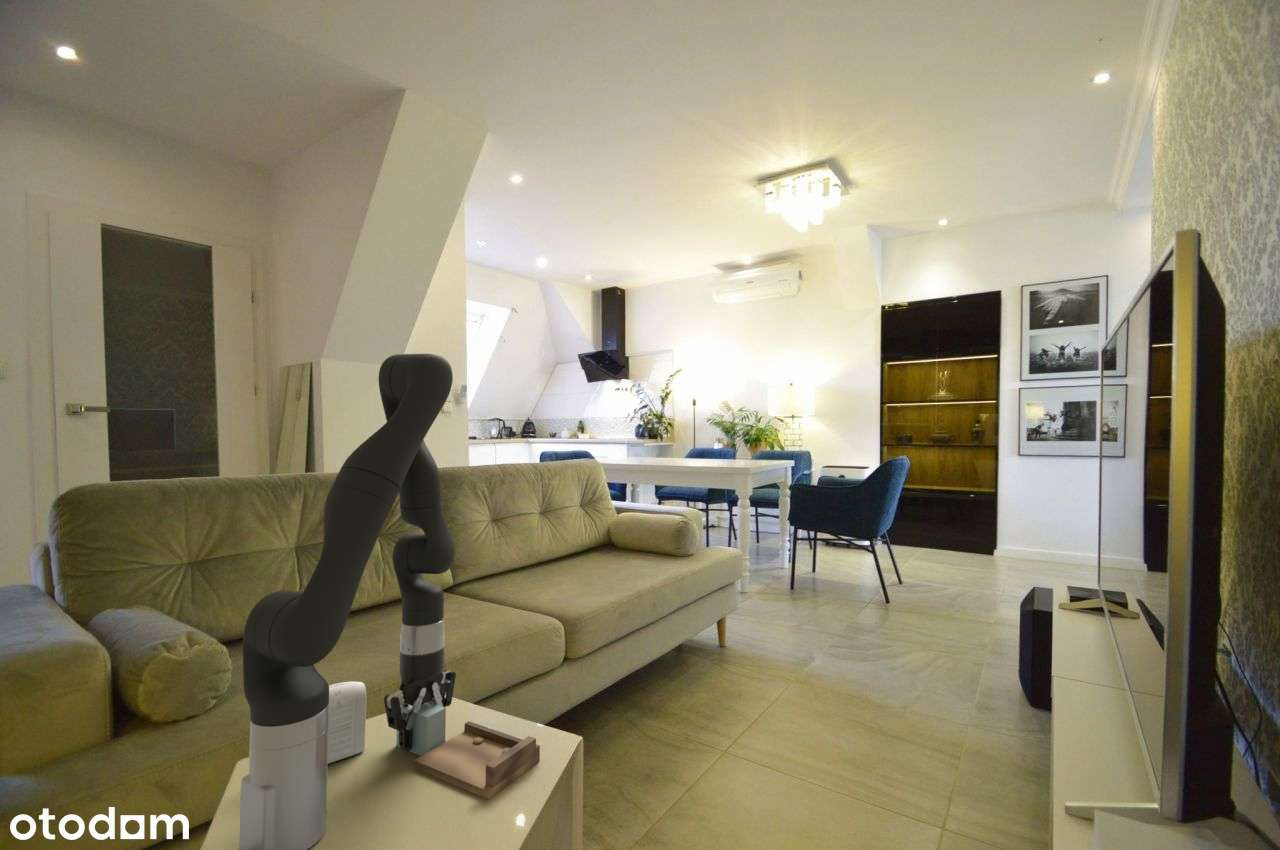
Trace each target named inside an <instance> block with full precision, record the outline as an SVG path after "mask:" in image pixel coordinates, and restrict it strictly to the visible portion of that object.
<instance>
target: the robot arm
mask: <svg viewBox="0 0 1280 850" xmlns="http://www.w3.org/2000/svg"><path fill="white" fill-rule="evenodd" d="M453 374H454V373H453V371H452V367H451V364H450V362H449V361H448V360H447V359H446V358H445V357H443V356H441V355H439V354H435V353H405V354H404V353H401V354H400V353H399V354H393V355H390V356H389V357H387V358H386V359H384V360H383V362H382V364H381V365H380V367H379V371H378V388H379V394H380V398H381V402H382V407H383V410H384V415H385V419H386V422H385V424H383V425H382V426H381V427H380V428H379V429H378V430H376V431H375V432H374V433H372V435H370V436H368V438H366V440H365V441H363V442H362V443H361V444H360V445H358V446H357V448H356V449H355V450H354V451H352V452H351V453H350V454H349V456H348V457H347V458H346V459H345V461H344V462H343V464H342V466H341V468H340V469H339V471H338V473H337V475H336V477H335V479H334V481H333V483H332V485H331V486H330V489H329V491H328V493H327V494H326V495H327V496H326V499H325V502H324V507H323V508H324V510H323V539H322V540H323V541H322V542H323V543H322V550H321V553H320V557H319V559H318V562H317V564H316V566H315V569H314V570H313V572H312V575H311V576H310V578H309V581H308V583H307V584H306V586H305V588H304V589H303V591H300V590H290V589H289V590H288V589H284V590H277V591H274V592H271V593H268V594H266V595H265V596H264V597H262V598H261V599H260V600H259V601H258V602H256V604H255V605H254V607H253V608H252V609H251V611H250V612H249V614H248V617H247V619H246V621H245V625H244V629H243V637H242V670H243V671H242V675H243V676H242V679H243V693H244V697H245V700H246V701H247V704H248V705H249V711H250V712H249V713H250V721H249V747H248V750H249V751H248V752H249V753H248V754H249V755H248V774H247V775H245V776H243V777H242V779H241V780H240V807H239V808H240V809H239V814H240V815H239V835H238V837H239V838H238V840H239V841H238V843H239V844H238V848H239V849H238V850H308V849H309V848H310V849H311V848H312V847H313V846H314V845H315V844H316V843H317V842H318V841H319V840H321V839H322V838H323V835H324V834H325V831H326V829H327V813H328V811H327V805H328V804H327V799H328V798H327V797H328V794H327V793H328V792H327V791H328V724H329V686H330V685H329V683H328V681H327V680H326V679H325V678H324V677H323V675H321V674H320V672H318V670H317V669H316V667H315V665H316V664H318V663H320V662H321V661H322V660H324V659H325V658H326V657H327V656H328V655H329V654H330V653H331V652H332V651H333V650H334V648H335V646H336V645H337V644H338V642H339V640H340V638H341V636H342V634H343V631H344V628H345V627H346V624H347V621H348V619H349V616H350V613H351V610H352V606H353V604H354V600H355V598H356V595H357V593H358V592H357V591H358V589H359V586H360V583H361V580H362V577H363V574H364V572H365V569H366V567H367V564H368V561H369V559H370V557H371V556H372V555H371V554H372V553H373V550H374V548H375V546H376V543H377V540H378V538H379V535H380V534H381V531H382V530H383V526H384V525H385V522H386V520H387V518H388V517H389V515H390V513H391V511H392V509H393V506H394V504H395V502H396V500H397V497H398V496H399V508H400V509H399V510H400V517H401V520H402V521H403V522H404V523H406V524H409V525H413V526H416V527H418V528H420V529H421V530H422V532H423V533H406V534H404V535H403V534H402V535H401V536H400V537H399V538H398V540H397V541H396V542H395V545H394V546H393V550H392V555H391V556H392V557H391V558H392V565H393V570H394V573H395V577H396V581H397V585H398V587H399V592H400V596H401V601H402V602H401V603H402V607H401V608H402V609H401V611H402V612H401V626H400V627H401V628H400V634H399V635H400V636H399V677H400V680H401V682H400V685H399V688H398V690H397V691H395V692H394V693H393V694H386V695H384V698H383V703H384V707H385V713H386V720H387V725H388V727H389V728H390V729H394V730H396V731H397V730H398V731H399V746H400V747H401V748H400V747H399V748H400V749H402V750H404V751H405V752H410V751H409V750H411V749H412V743H413V728H412V725H413V722H414V718H415V716H416V715H417V714H418V712H419V709H420V706H422V705H423V704H424V703H426V702H430V703H433V704H436V705H439V706H442V707H445V708H446V707H451V705H452V702H453V696H454V695H453V694H454V690H455V689H454V688H455V682H456V675H457V674H456V672H455V671H452V670H448V669H445V641H446V639H445V637H446V636H445V635H446V634H445V633H446V630H445V623H444V622H445V621H444V620H445V619H444V615H445V613H444V610H445V609H444V605H445V604H444V603H445V602H444V601H445V597H444V596H445V594H444V590H443V588H441V586H438V585H435V584H432V583H429V582H427V581H426V580H425V579H424V578H423V575H442V574H444V573H447V571H448V570H450V568H451V567H452V566H453V564H454V561H455V557H456V547H455V542H454V538H453V536H452V534H451V533H452V532H450V528H449V526H448V523H447V520H446V515H445V513H444V510H443V501H442V500H443V497H442V481H441V476H440V471H439V468H438V465H437V463H436V460H435V459H434V457H433V455H432V454H431V451H430V450H429V448H428V446H427V445H426V443H425V440H424V439H425V438H426V436H427V434H428V433H429V430H430V429H431V427H432V426H433V424H434V423H435V420H436V419H437V417H438V415H439V414H440V412H441V411H442V409H443V407H444V405H445V403H446V402H447V400H448V398H449V395H450V393H451V389H452V386H453V382H454V380H453V377H454V375H453ZM422 574H423V575H422ZM400 705H401V707H400ZM409 705H411V706H413V707H412V708H409ZM407 714H408V717H407ZM406 718H407V721H406Z"/></svg>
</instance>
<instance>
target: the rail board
mask: <svg viewBox="0 0 1280 850" xmlns="http://www.w3.org/2000/svg"><path fill="white" fill-rule="evenodd" d="M540 746H541V745H539V744H537V738H536V737H532V736H530V735H528V736H527V737H525V738H524V739H522V738H519V737H516V736H514V735H510V734H507V733H505V732H501V731H499V730H495V729H493V728H491V727H487V726H484V725H481V724H478V723H475V722H472V721H469V720H468V721H467V722H465V723H464V731H462V732H460V733H458V734H457V735H455V736H453V737H452V738H450V739H449V740H445V743H443V744H441V745H439V746H438V747H436V748H434V749H432V750H431V751H429V752H427V753H426V754H424V755H422V756H420V755H419V757H417V758H415V759H413V768H415V769H417V770H418V771H421V772H424V773H425V774H428V775H431V776H433V777H436V778H437V779H440V780H442V781H444V782H447V783H449V784H452V785H454V786H456V787H459V788H461V789H464V790H466V791H468V792H470V793H473V794H475V795H477V796H479V797H482V798H484V799H485V800H489V799H491V798H492V797H494V796H495V795H496V794H498V793H499V792H500V791H502V790H503V789H504V788H505V787H507V786H508V785H510V784H511V783H512V782H514V781H515V780H517V779H518V778H519V777H520V776H522V775H523V774H524V773H526V772H527V771H529V770H530V769H531V768H532V767H534V766H535V765H536V764H538V763H539V762H540V760H541V758H540V756H541V751H540V748H541V747H540Z"/></svg>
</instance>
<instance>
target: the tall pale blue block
mask: <svg viewBox="0 0 1280 850" xmlns="http://www.w3.org/2000/svg"><path fill="white" fill-rule="evenodd" d="M400 707H401V705H400ZM412 707H413V706H411V705H409V708H412ZM446 710H447V708H446V707H442V706H439V705H436V704H433V703H430V702H426V703H424V704H423V705H422V706H420V709H419V712H418V714H417V715H416V716H415V718H414V722H413V725H412V728H413V743H412V749H411V750H409V751H408V752H411V753H413V754H415V755H418V756H419V757H420V756H422V755H424V754H426V753H427V752H429V751H431V750H432V749H434V748H436V747H438V746H439V745H441V744H443V743H445V742H446V726H447V725H446V723H447V721H446V719H447V718H446V717H447V715H446V714H447V713H446V712H447V711H446ZM407 717H408V714H407ZM406 721H407V718H406ZM395 747H399V748H400V749H402V748H401V747H400V746H399V731H398V730H396V746H395Z"/></svg>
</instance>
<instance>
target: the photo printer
mask: <svg viewBox="0 0 1280 850" xmlns="http://www.w3.org/2000/svg"><path fill="white" fill-rule="evenodd" d="M366 717H367V689H366V685H365V683H364V682H362V681H343V682H338V683H334V684H331V685H329V724H328V764H332V763H334V762H337V761H340V760H343V759H346V758H350V757H352V756H354V755H357V754H360V753H362V752H364V751H365V747H366V724H367V723H366V722H367V720H366V719H367V718H366ZM328 764H327V765H328Z"/></svg>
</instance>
